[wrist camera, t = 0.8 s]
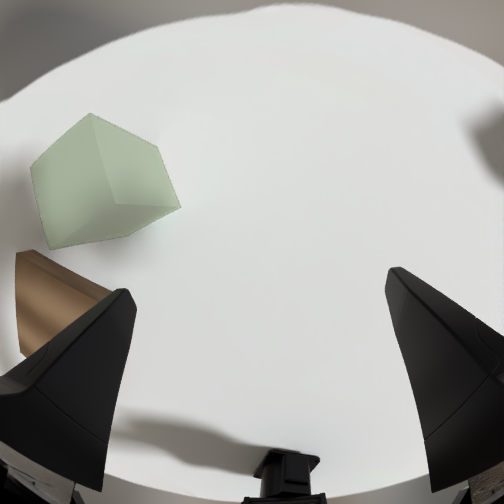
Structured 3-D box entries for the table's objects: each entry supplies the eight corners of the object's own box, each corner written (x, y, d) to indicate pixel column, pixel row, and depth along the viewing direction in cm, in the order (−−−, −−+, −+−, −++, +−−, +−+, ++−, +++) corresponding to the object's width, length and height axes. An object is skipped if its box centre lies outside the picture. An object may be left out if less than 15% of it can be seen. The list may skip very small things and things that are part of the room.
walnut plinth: (110, 395, 26) (98, 408, 23) (33, 344, 27) (20, 352, 24) (118, 294, 24) (101, 303, 21) (33, 249, 24) (16, 253, 21)
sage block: (181, 207, 22) (116, 204, 12) (126, 236, 23) (50, 250, 13) (157, 146, 22) (90, 112, 12) (106, 178, 22) (29, 167, 13)
